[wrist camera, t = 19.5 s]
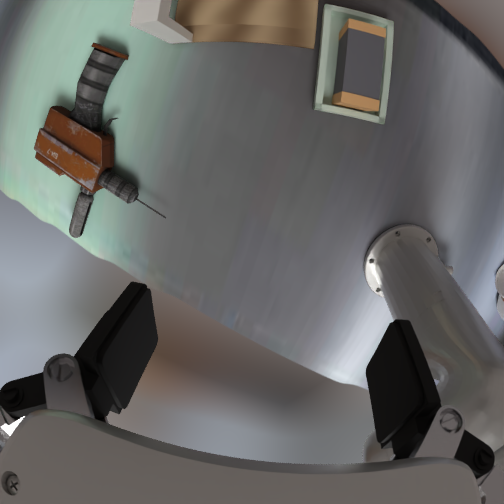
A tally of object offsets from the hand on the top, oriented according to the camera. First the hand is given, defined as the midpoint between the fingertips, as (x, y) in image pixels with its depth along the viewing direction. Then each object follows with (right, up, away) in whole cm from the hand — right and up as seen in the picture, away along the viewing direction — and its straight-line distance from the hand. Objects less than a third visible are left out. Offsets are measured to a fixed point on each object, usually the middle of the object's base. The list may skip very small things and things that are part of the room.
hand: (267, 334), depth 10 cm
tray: (+12, +26, +17) cm, 33 cm away
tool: (-22, +18, +27) cm, 39 cm away
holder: (-1, +33, +15) cm, 37 cm away
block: (+12, +25, +17) cm, 32 cm away
